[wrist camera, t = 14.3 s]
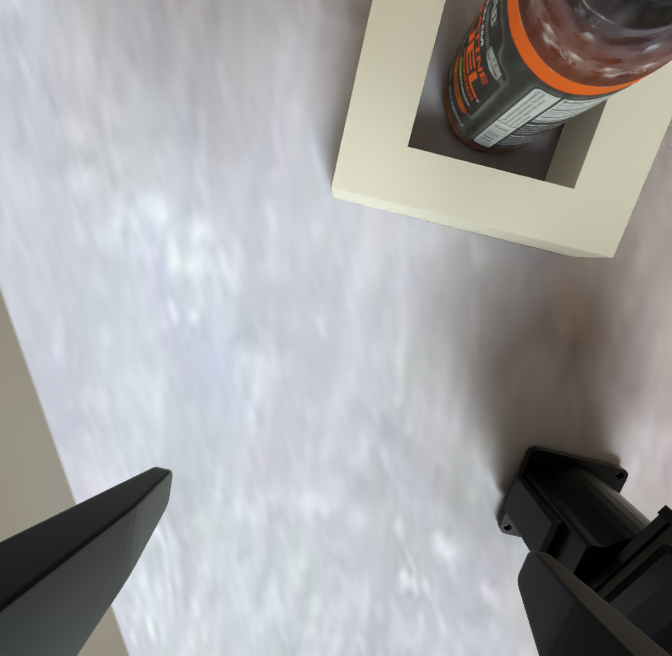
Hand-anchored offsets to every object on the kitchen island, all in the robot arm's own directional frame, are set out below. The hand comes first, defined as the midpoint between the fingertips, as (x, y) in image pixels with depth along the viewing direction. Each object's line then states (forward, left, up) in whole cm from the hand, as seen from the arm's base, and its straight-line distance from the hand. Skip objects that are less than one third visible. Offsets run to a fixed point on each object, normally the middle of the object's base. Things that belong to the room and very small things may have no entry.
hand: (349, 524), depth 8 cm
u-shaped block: (-4, -15, -13) cm, 20 cm away
